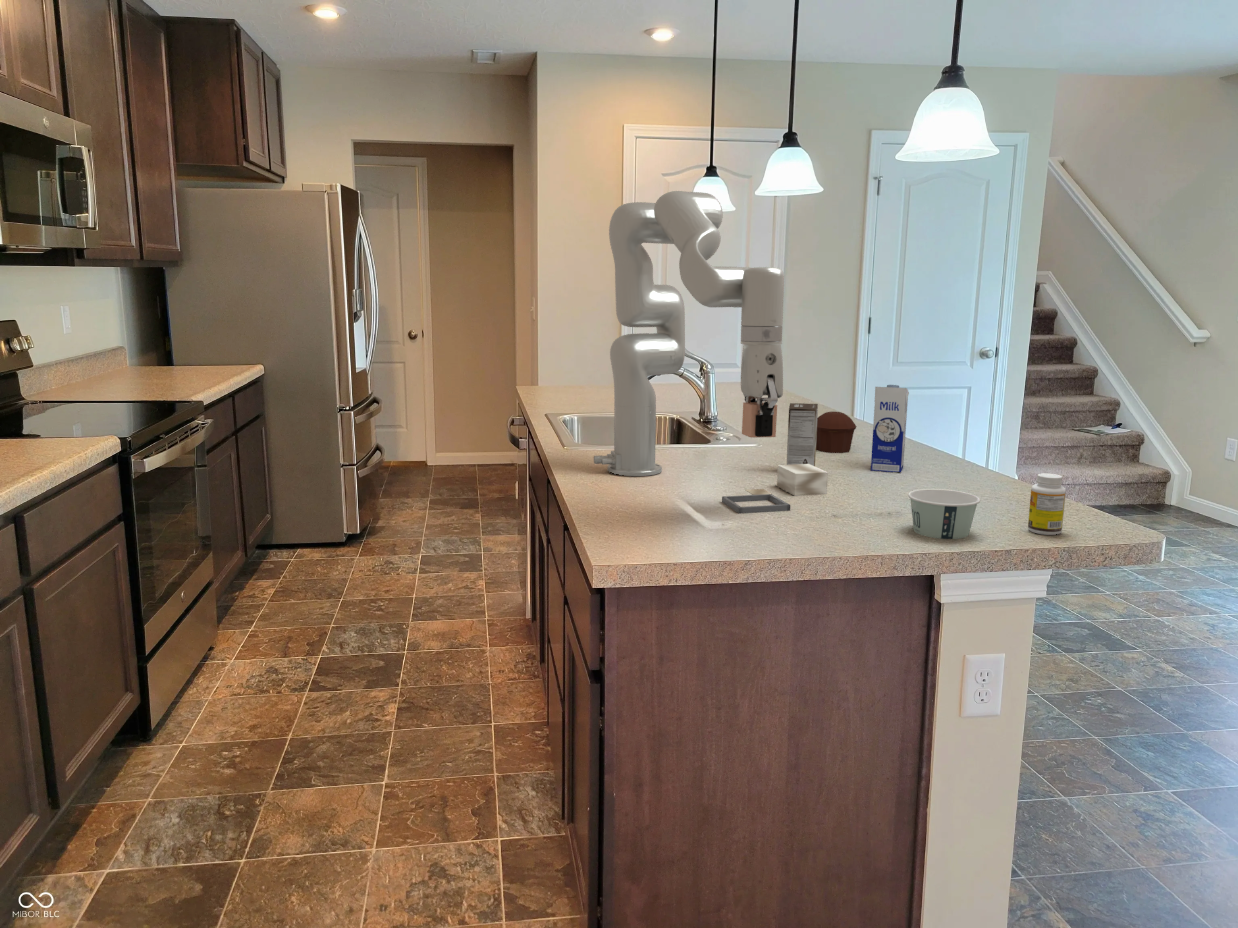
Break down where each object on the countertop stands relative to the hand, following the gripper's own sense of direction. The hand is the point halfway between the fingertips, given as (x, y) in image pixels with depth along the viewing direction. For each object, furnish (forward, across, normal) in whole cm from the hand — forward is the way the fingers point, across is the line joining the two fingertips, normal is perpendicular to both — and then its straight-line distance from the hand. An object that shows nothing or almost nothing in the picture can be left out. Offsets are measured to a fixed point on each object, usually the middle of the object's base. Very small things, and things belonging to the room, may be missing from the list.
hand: (758, 433), depth 170 cm
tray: (+15, 0, 0) cm, 15 cm away
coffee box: (+15, +30, -23) cm, 41 cm away
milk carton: (+15, +32, -46) cm, 58 cm away
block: (0, 0, 0) cm, 0 cm away
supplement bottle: (+16, -24, -45) cm, 53 cm away
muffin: (+15, +58, -45) cm, 75 cm away
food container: (+16, -20, -27) cm, 37 cm away
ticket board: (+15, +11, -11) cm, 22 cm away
